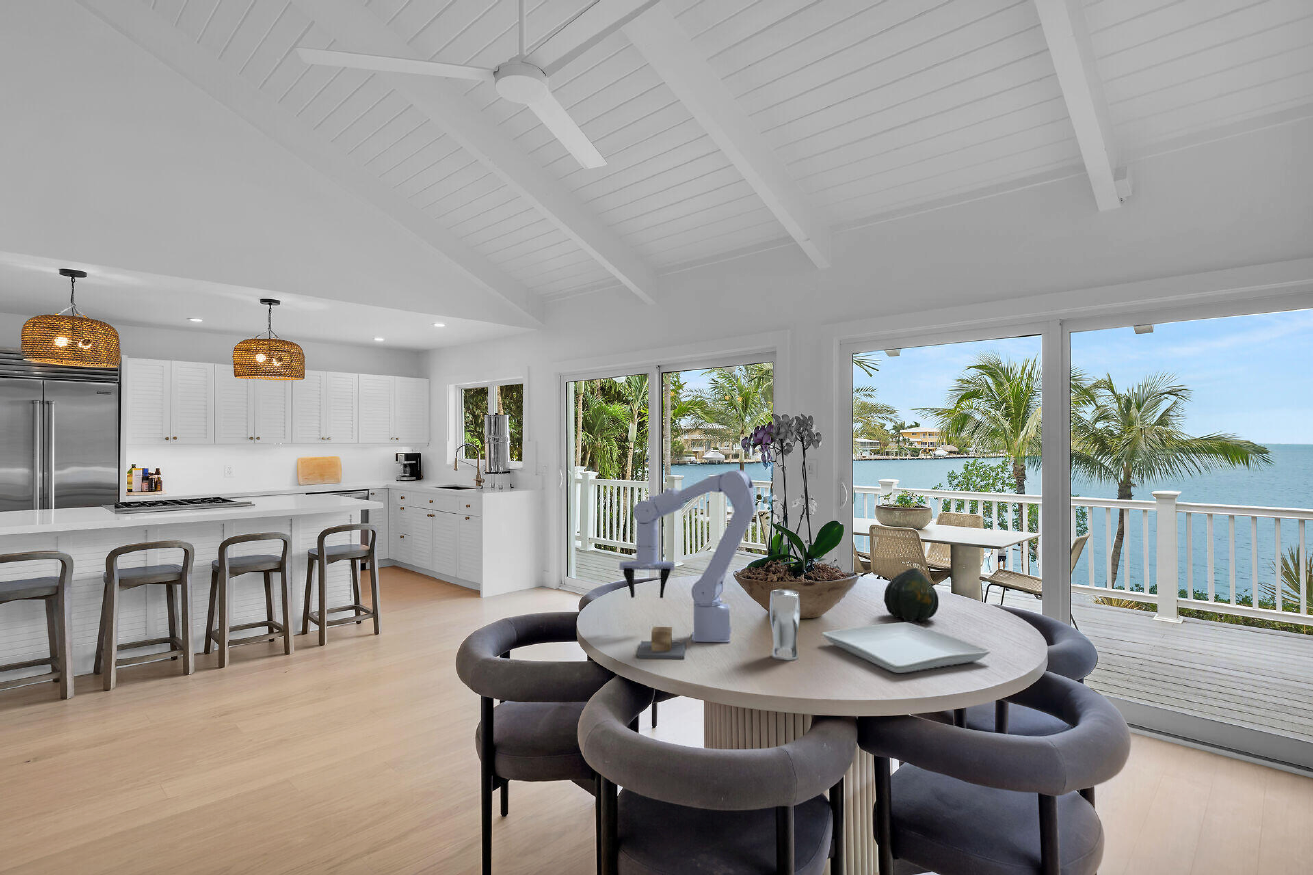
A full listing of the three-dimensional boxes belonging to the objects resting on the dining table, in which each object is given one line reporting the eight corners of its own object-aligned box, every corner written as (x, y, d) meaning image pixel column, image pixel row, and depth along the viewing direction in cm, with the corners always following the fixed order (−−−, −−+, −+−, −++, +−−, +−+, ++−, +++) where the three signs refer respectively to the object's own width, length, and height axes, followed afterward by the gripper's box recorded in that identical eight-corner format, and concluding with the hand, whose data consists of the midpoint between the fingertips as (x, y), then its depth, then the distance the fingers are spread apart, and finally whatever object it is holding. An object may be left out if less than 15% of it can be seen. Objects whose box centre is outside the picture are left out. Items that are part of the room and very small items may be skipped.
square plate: (819, 646, 165) (819, 630, 165) (907, 635, 175) (907, 620, 175) (896, 681, 140) (896, 663, 140) (993, 666, 150) (993, 648, 150)
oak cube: (671, 645, 162) (671, 627, 162) (670, 651, 157) (670, 632, 157) (653, 645, 162) (653, 626, 162) (651, 650, 157) (651, 631, 158)
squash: (883, 605, 183) (919, 564, 184) (868, 595, 198) (901, 558, 199) (923, 640, 182) (958, 599, 183) (904, 628, 197) (937, 590, 198)
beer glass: (804, 655, 157) (803, 591, 157) (794, 663, 151) (794, 596, 151) (776, 650, 160) (775, 588, 161) (765, 658, 154) (765, 593, 155)
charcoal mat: (685, 645, 165) (685, 641, 165) (684, 659, 154) (684, 655, 154) (641, 644, 166) (641, 640, 166) (636, 657, 155) (636, 654, 155)
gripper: (618, 547, 173) (618, 599, 173) (673, 548, 172) (673, 600, 172) (621, 543, 180) (621, 594, 180) (674, 544, 179) (675, 594, 179)
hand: (647, 597), depth 176 cm, fingers open, 7 cm apart
